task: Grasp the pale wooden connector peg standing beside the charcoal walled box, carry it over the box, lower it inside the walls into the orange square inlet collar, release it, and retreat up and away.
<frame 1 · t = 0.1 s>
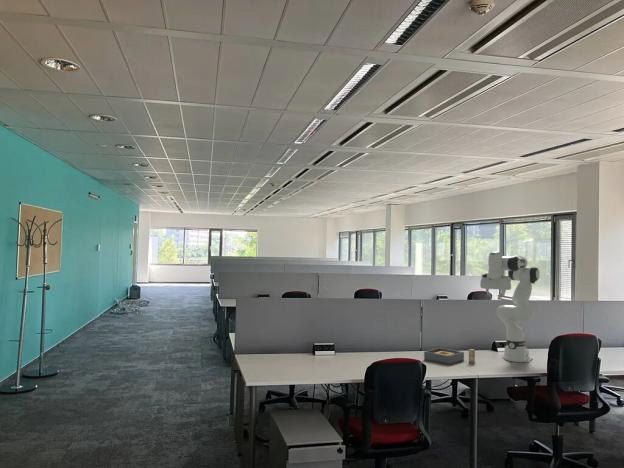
hand: (495, 295, 314), 48 cm above the table, fingers open, 8 cm apart
connector peg: (471, 362, 323), on the table
walled box: (444, 360, 330), on the table
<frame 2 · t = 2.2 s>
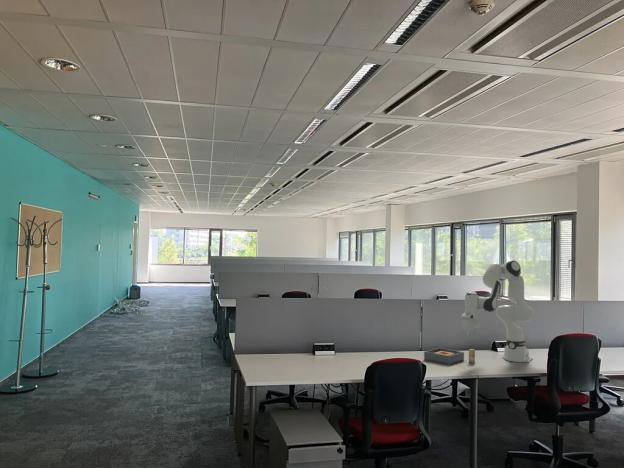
hand: (471, 335, 324), 19 cm above the table, fingers open, 8 cm apart
nothing on the table moved.
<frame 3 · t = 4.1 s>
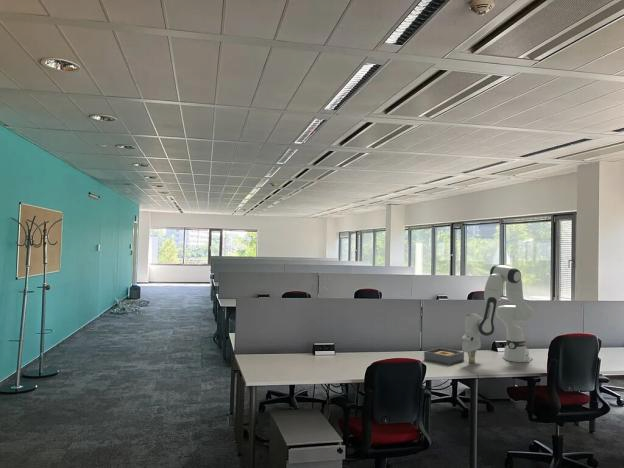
hand: (471, 356, 323), 4 cm above the table, fingers closed on connector peg, 4 cm apart
connector peg: (471, 362, 323), on the table, touching gripper
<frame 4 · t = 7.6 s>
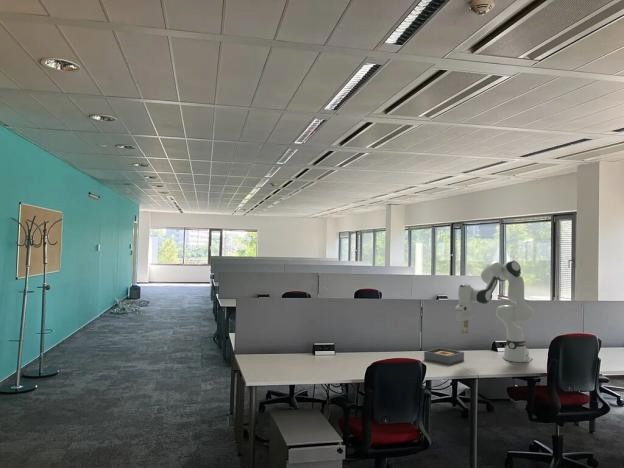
hand: (464, 326, 326), 25 cm above the table, fingers closed on connector peg, 4 cm apart
connector peg: (465, 332, 325), point 20 cm above the table, touching gripper
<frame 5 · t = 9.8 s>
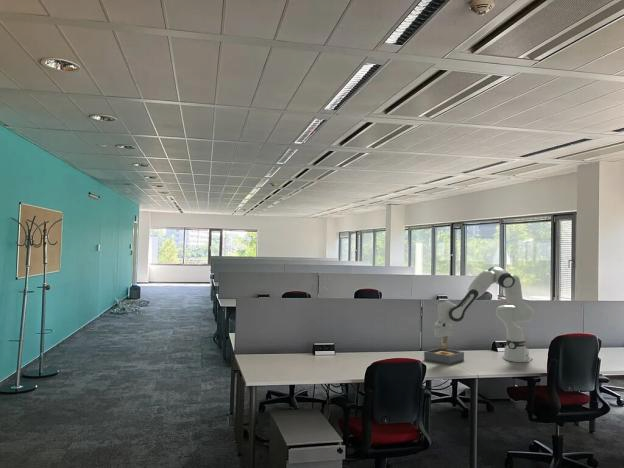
hand: (444, 342, 330), 13 cm above the table, fingers closed on connector peg, 4 cm apart
connector peg: (444, 348, 330), point 8 cm above the table, touching gripper
when the fingers open (7 cm above the table, at t = 11.3 s): connector peg drops 2 cm, resting on walled box.
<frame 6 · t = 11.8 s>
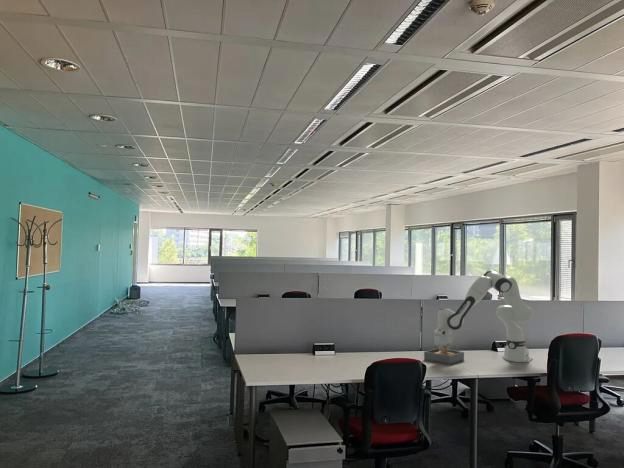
hand: (444, 350, 330), 7 cm above the table, fingers open, 8 cm apart
connector peg: (444, 358, 330), point 1 cm above the table, touching walled box
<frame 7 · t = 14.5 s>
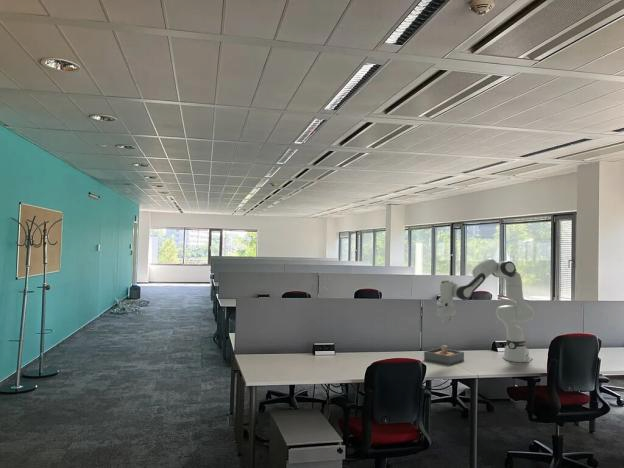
hand: (446, 322, 330), 27 cm above the table, fingers open, 8 cm apart
nothing on the table moved.
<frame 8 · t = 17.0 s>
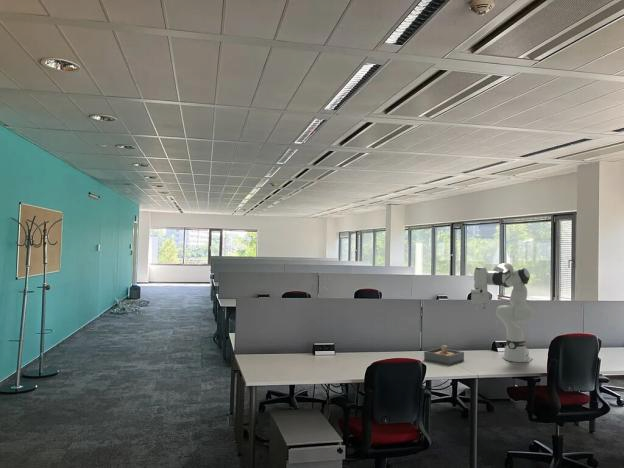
hand: (480, 309, 324), 37 cm above the table, fingers open, 8 cm apart
nothing on the table moved.
at the end: connector peg 0.3 cm off-centre on the walled box, point 1.0 cm above the walled box's base; connector peg tilted 0°; the gripper is holding nothing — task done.
